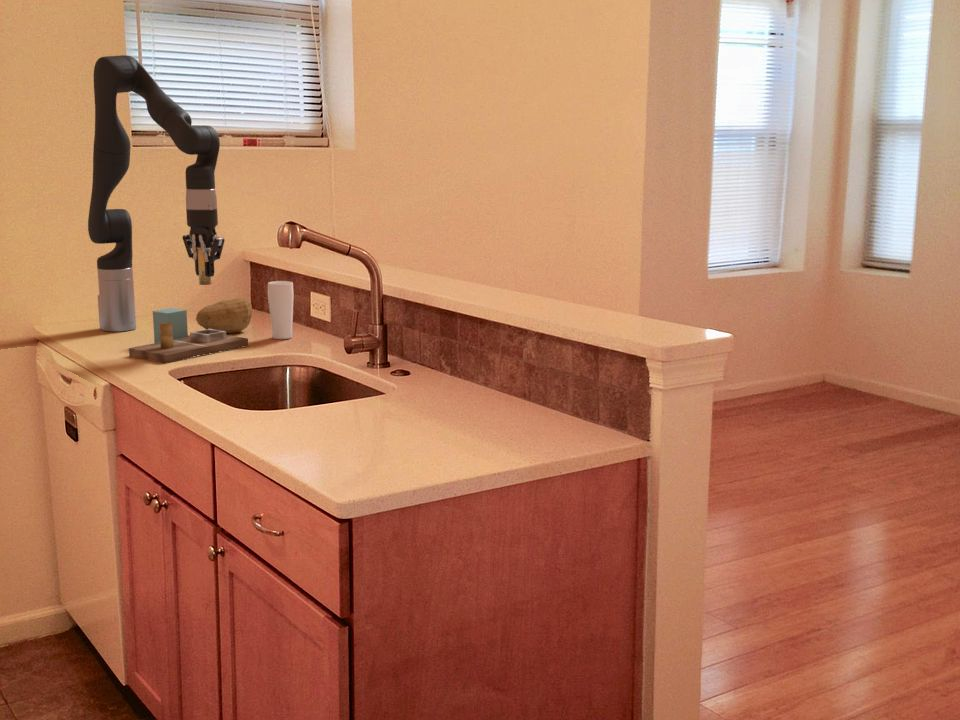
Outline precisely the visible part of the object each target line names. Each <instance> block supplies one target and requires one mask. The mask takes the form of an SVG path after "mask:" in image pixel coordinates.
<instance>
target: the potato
mask: <svg viewBox="0 0 960 720" xmlns="http://www.w3.org/2000/svg"><path fill="white" fill-rule="evenodd" d="M252 317H253V306H252V304H251V302H250V301H249V299H246V298H243V297H238V298H233V299H224V300H221V301H217V302H214V303H212V304H209V305H207V306H204V307H203V308H201V309H200V310H199V311H198V312H197V313H196V317H195V320H196V322H197V324H198V325H199V326H200V327H202V328H204V330H206V329H214V330H220V331H226V334H234V333H240V332H242V331H243V330H245V329H247V328H248V326H249V325H250V323H251V321H252Z"/></svg>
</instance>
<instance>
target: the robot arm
mask: <svg viewBox="0 0 960 720" xmlns="http://www.w3.org/2000/svg"><path fill="white" fill-rule="evenodd" d="M131 92H133V93H134V94H137V95H138V96H140V97H141V98H142V99H144V100H145V101H144V102H145V103H146V104H145V105H146V109H147V112H148V115H149V116H150V119H152V121H154V122H155V123H156V124H157V125H158V126H159V127H161V129H162V130H164V131H165V132H166V133H168V136H169V137H170V139H171V141H172V142H173V144H174V145H175V146H176V148H177V149H178V150H180V152H182V153H183V154H185V155H190V156H193V155H194V156H195V155H196V156H197V157H196V160H195V162H194V163H193V164H190V165H188V166H186V168H185V172H184V173H185V188H186V191H185V192H186V193H185V208H186V224H187V225H186V226H188V227H189V229H190V230H189V233H188V234H186V235H182V237H181V238H182V240H183V244H184V247H185V250H186V252H187V256H188V258H191V259H193V261H194V266H195V267H194V272H195V274H196V276H197V277H199V271H198V252H197V249H198V248H201V249H202V253H204V258H205V261H206V262H205V276H206V277H211V278H212V277H214V275H215V261H217V260H220V259H221V256H222V252H223V248H224V245H225V238H224V237H220V236H218V234H217V231H216V227H217V226H218V225H219V218H218V197H217V193H216V178H215V171H216V167H217V164H218V163H217V162H218V157H219V153H220V144H221V143H220V142H221V141H220V136H219V134H218V132H217V130H216V129H215V128H214V127H213V126H210V125H192V122H193V121H192V116H191V115H190V114H189V113H188V112H187V110H185V109H184V108H183V107H181V106H180V105H179V103H176V101H174V100H173V99H172V98H171V97H169V95H167V94H166V92H164V90H163V89H162V88H161V87H160V85H159V84H158V82H156V80H154V78H153V76H151V74H150V73H149V72H148V71H147V70H146V69H145V67H144V66H143V65H142V64H141V63H140V62H139V60H137V59H136V58H135V57H133V56H131V55H125V54H124V55H123V54H122V55H106V56H101V57H99V58H98V59H96V61H95V64H94V67H93V95H94V96H93V97H94V137H93V138H94V139H93V148H92V149H93V152H92V153H93V155H92V185H91V186H92V187H91V195H90V200H89V201H90V202H89V210H88V219H87V231H88V232H87V233H88V236H89V239H90V241H91V242H93V244H96V245H97V244H98V245H99V244H100V245H101V244H102V245H103V244H115V246H114V248H113V249H111V250H110V251H109V252H106V253H105V254H103V255H101V256H99V257H97V260H96V269H97V270H96V271H97V280H98V281H97V283H98V295H97V307H98V309H97V310H98V319H99V329H101V331H104V332H127V331H133V330H136V329H137V319H136V317H137V316H136V300H135V286H134V273H133V272H134V271H133V225H132V224H133V223H132V218H131V214H130V212H129V211H128V210H126V209H123V208H113V209H112V208H111V209H110V208H108V209H107V207H108V203H109V199H110V198H111V195H112V194H113V192H114V190H115V189H116V187H117V186H118V185H119V184H120V182H121V181H122V180H123V179H124V177H125V175H126V174H127V172H128V170H129V168H130V163H131V140H130V136H129V135H128V133H127V131H126V130H125V128H124V125H123V124H122V122H121V120H120V118H119V115H118V111H117V98H118V97H117V96H118V94H122V93H124V94H125V93H131ZM206 248H210V249H206ZM209 252H210V256H209V254H208V253H209Z"/></svg>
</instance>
